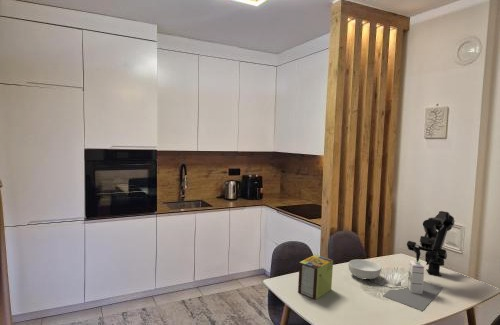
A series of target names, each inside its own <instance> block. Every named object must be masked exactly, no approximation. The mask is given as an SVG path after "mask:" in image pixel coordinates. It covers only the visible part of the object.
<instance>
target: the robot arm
mask: <svg viewBox="0 0 500 325" xmlns="http://www.w3.org/2000/svg"><path fill="white" fill-rule="evenodd" d="M422 226H423V230H424V232H425V233H424V235H420V238H419V244H420V245H419V244H417V242H415V241H413V240H408V241H407V242H406V247H407V249H408V250H409V251H412V252H414V254H415V255H416V257H415V258H416V260H415V261H417V262H420V258H421V251H424V252H425V255H424V258H425V265H426V266H427V267H428V268H427V269H426V270H425V271H426V272H427V274H428V275H432V276H438V277H441V276H442V274H441V272H440V270H441V269H440V268H441V267H442V266H445V260H447V257H448V253H447V250H446V249H443V246H444V242H445V240H446V236H447V234H448V232H449V231H450V230H452V229H453V226H455V217H454V216H452V215H451V214H450V212H448V211H444V210H440V211H438V213H437V215H435V217H428V219H425V220H424V221H423V222H422Z"/></svg>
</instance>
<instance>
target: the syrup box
mask: <svg viewBox="0 0 500 325" xmlns="http://www.w3.org/2000/svg"><path fill="white" fill-rule="evenodd" d="M408 265H409V267H408V276H409V277H408V289H409V290H410V292H411V293H418V294H422V292H423V281H424V278H425V265H424V264H423V263H422V262H421V261H418V262H417V260H412V261H411V260H409V264H408Z"/></svg>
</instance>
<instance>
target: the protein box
mask: <svg viewBox="0 0 500 325" xmlns="http://www.w3.org/2000/svg"><path fill="white" fill-rule="evenodd" d="M298 266H299V267H298V268H299V270H298V286H297V287H298V288H297V293H299V294H301V295H304V296H306V297H308V298H310V299H313V300H314V301H315V300H316V301H317V299H319V298H321V297H322V296H325V294H327V293H328V292H330V291H331V290H332V284H333V283H332V282H333V270H334V259H331V258H328V257H324V256H322V255H318V254H314V255H312V256H310V257H306V258H305V259H304V260H301V261H299V265H298Z"/></svg>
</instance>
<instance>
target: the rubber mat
mask: <svg viewBox="0 0 500 325" xmlns="http://www.w3.org/2000/svg"><path fill="white" fill-rule="evenodd" d="M394 286H401V282H400V281H399V282H398V283H397V284H395V285H394ZM443 288H444V287H443V286H440V285H437V284H435V283H431V282H427V281H424V280H423V292H422V294H418V293H411V292H410V290H409V289H408V287H407V288H404V289H399V290H390V289H389V290H388V291H387V292H385V293H384V294H383V295H382V297H383V298H386V299H389V300H392V301H394V302H396V303H400V304H403V305H405V306H407V307H410V308H413V309H415V310H418V311H421V312H424V311H425V309H426V308H427V307H428V306H429V305H430V303H431V302H432V301H433V300H434V299H435V298H436V296H438V294H439V293H440V292H441V291H442V289H443Z"/></svg>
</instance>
